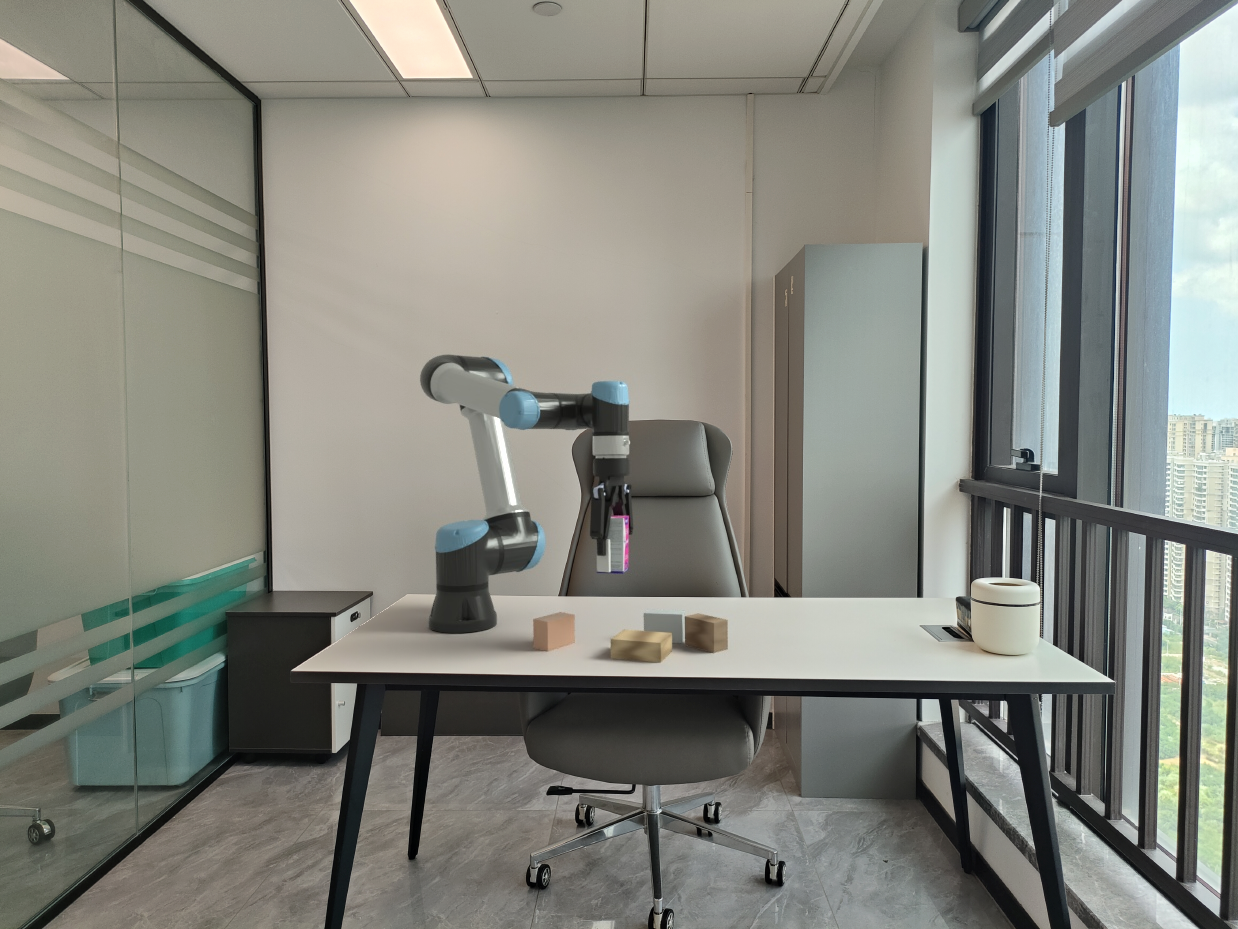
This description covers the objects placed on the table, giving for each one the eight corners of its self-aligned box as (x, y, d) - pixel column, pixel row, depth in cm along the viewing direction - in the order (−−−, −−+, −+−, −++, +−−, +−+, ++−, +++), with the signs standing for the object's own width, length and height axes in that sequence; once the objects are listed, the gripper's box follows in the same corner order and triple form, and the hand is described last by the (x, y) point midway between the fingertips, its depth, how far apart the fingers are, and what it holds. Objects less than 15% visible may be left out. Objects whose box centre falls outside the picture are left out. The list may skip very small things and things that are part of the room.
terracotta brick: (547, 651, 155) (547, 621, 154) (533, 648, 157) (533, 619, 157) (574, 643, 161) (574, 614, 161) (560, 640, 163) (560, 612, 163)
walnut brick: (684, 645, 159) (684, 616, 158) (698, 642, 161) (698, 613, 161) (714, 653, 152) (713, 623, 152) (727, 649, 155) (727, 619, 155)
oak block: (610, 659, 150) (610, 639, 149) (624, 649, 157) (623, 629, 157) (660, 664, 146) (660, 642, 146) (672, 653, 154) (671, 632, 154)
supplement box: (624, 574, 157) (623, 517, 156) (595, 573, 158) (594, 517, 158) (629, 569, 162) (629, 514, 162) (602, 569, 164) (601, 514, 163)
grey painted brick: (643, 641, 162) (643, 613, 162) (647, 637, 166) (647, 609, 165) (682, 643, 160) (682, 614, 160) (684, 638, 164) (684, 610, 164)
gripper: (603, 457, 149) (605, 577, 150) (648, 455, 166) (650, 563, 167) (570, 458, 153) (572, 575, 153) (618, 456, 170) (619, 561, 171)
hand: (613, 568), depth 160 cm, fingers closed on supplement box, 7 cm apart
